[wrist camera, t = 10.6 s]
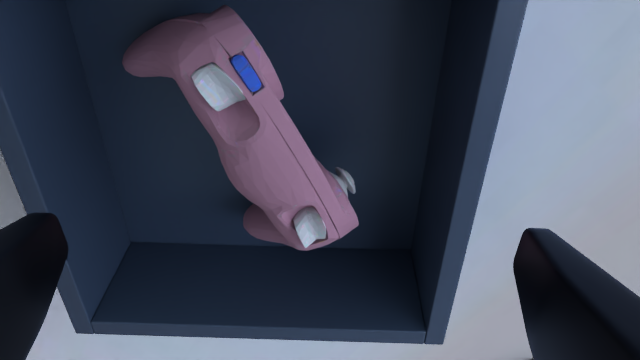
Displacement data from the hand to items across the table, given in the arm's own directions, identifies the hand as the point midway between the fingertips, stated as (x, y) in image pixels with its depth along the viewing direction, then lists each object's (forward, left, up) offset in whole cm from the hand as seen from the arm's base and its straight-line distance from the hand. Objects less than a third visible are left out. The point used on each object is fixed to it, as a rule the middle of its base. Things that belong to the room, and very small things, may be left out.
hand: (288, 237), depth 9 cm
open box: (+2, +4, -12) cm, 12 cm away
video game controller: (+2, +3, -11) cm, 12 cm away
